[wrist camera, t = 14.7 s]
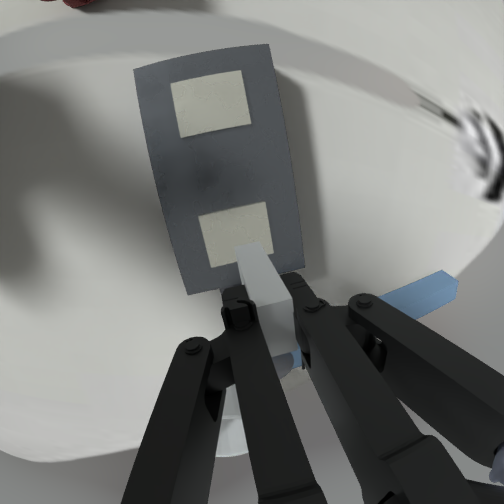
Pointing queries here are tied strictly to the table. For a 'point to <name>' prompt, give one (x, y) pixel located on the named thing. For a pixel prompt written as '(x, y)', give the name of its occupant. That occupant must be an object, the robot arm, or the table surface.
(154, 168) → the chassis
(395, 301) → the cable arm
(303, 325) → the robot arm
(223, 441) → the cup
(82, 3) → the mechanical component
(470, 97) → the table surface
